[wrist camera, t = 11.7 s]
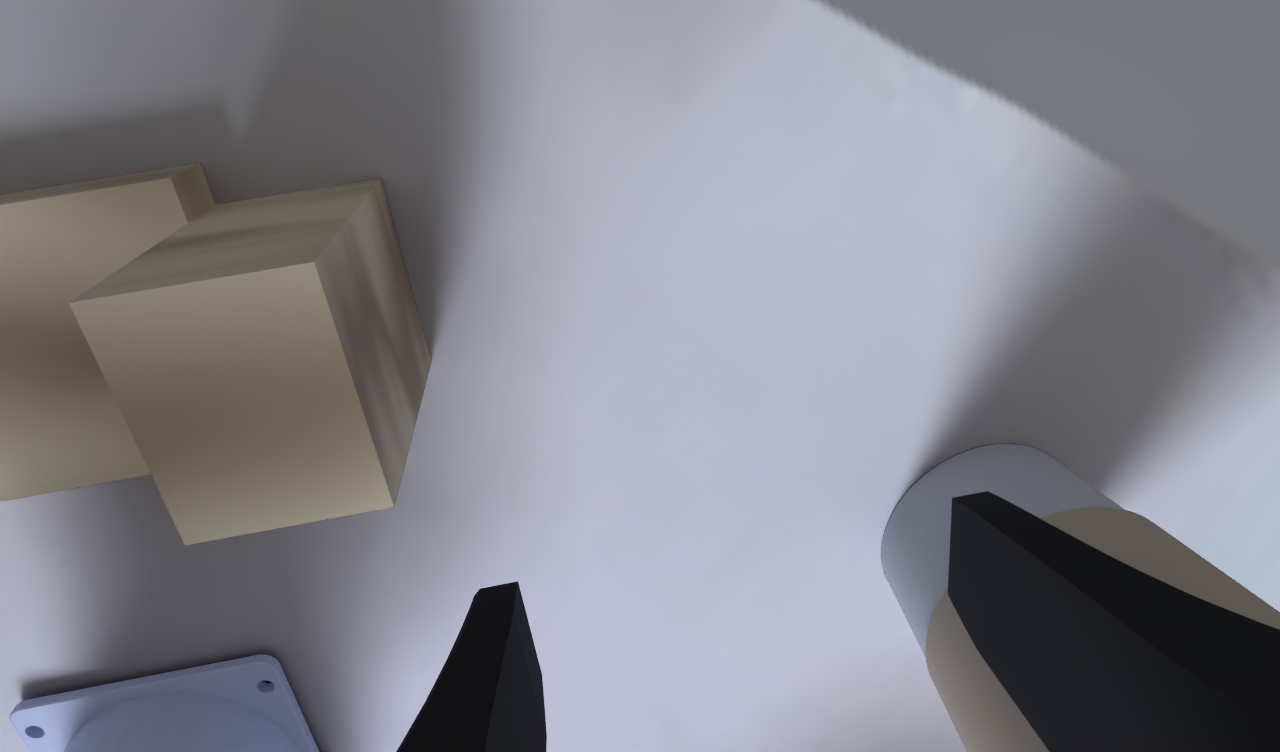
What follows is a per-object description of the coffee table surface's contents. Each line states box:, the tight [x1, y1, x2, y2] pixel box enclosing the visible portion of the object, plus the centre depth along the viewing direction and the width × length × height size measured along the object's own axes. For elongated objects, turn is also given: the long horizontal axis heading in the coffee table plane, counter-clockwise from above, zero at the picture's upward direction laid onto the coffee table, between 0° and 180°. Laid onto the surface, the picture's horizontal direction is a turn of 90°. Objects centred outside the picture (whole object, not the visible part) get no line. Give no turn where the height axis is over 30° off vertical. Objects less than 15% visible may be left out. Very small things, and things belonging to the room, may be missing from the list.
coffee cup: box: [881, 444, 1280, 752], centre depth 20 cm, size 9×9×15 cm
